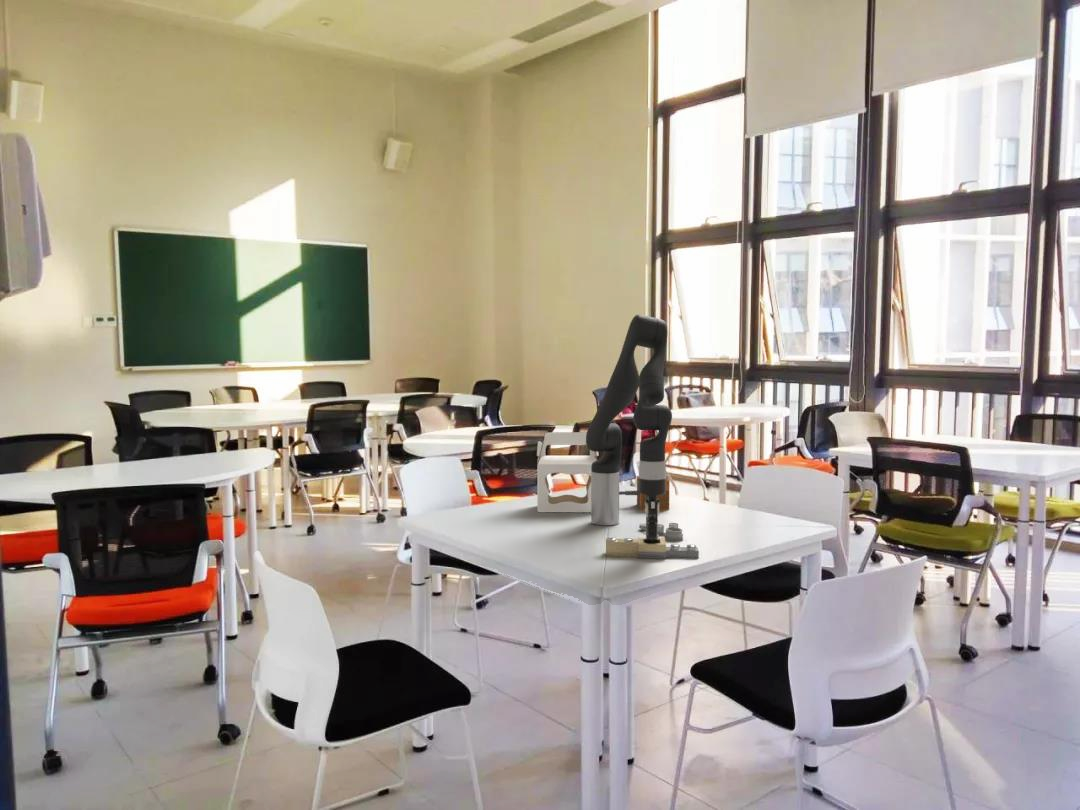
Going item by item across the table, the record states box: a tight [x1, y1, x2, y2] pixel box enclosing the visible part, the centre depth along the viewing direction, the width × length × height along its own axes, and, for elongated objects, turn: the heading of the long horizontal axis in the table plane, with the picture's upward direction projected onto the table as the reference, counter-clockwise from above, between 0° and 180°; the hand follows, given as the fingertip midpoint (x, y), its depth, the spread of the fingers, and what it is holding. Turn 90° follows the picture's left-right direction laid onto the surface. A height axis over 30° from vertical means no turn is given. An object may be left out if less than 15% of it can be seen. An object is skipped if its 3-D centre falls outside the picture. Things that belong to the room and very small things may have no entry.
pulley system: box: [638, 522, 684, 542], centre depth 247 cm, size 27×5×15 cm
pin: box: [644, 508, 659, 543], centre depth 226 cm, size 4×4×13 cm
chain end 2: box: [637, 543, 700, 560], centre depth 226 cm, size 8×17×3 cm, turn 84°
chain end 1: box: [605, 537, 667, 558], centre depth 227 cm, size 8×17×4 cm, turn 84°
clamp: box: [619, 475, 670, 511], centre depth 295 cm, size 11×20×14 cm, turn 92°
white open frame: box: [536, 431, 599, 513], centre depth 291 cm, size 22×13×28 cm, turn 89°
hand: (651, 533), depth 226 cm, fingers open, 8 cm apart
